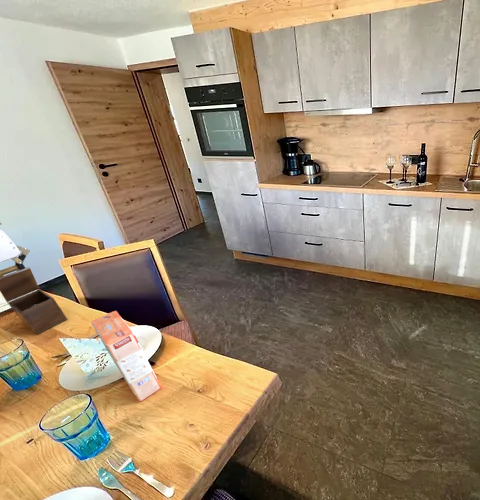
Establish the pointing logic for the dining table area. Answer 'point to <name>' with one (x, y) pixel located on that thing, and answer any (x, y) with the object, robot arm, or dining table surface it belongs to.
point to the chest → (38, 311)
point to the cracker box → (127, 354)
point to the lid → (16, 282)
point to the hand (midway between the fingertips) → (12, 277)
